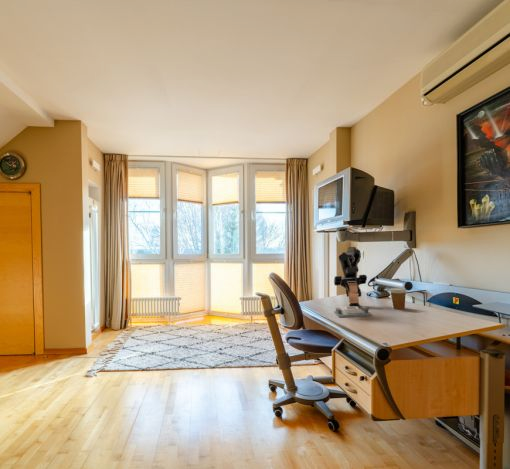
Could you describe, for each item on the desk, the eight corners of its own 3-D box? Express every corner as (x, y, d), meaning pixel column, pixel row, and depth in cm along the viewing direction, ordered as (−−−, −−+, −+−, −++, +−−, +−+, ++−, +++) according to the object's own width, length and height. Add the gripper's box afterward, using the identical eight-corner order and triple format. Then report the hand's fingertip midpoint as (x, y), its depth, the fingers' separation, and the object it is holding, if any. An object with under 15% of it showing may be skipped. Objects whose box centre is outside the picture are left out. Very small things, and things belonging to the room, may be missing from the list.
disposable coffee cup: (408, 310, 210) (406, 289, 210) (391, 310, 213) (389, 290, 213) (407, 307, 219) (405, 287, 219) (390, 307, 222) (389, 287, 222)
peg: (349, 301, 209) (347, 283, 210) (356, 301, 209) (355, 282, 210) (350, 303, 205) (349, 284, 205) (358, 302, 205) (357, 283, 205)
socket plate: (334, 312, 215) (334, 306, 215) (364, 311, 214) (364, 305, 214) (338, 317, 201) (338, 310, 201) (371, 315, 200) (370, 309, 200)
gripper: (333, 262, 212) (338, 283, 201) (365, 261, 212) (372, 281, 200) (331, 275, 220) (336, 295, 208) (362, 273, 219) (368, 293, 208)
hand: (353, 291), depth 206 cm, fingers closed on peg, 4 cm apart
